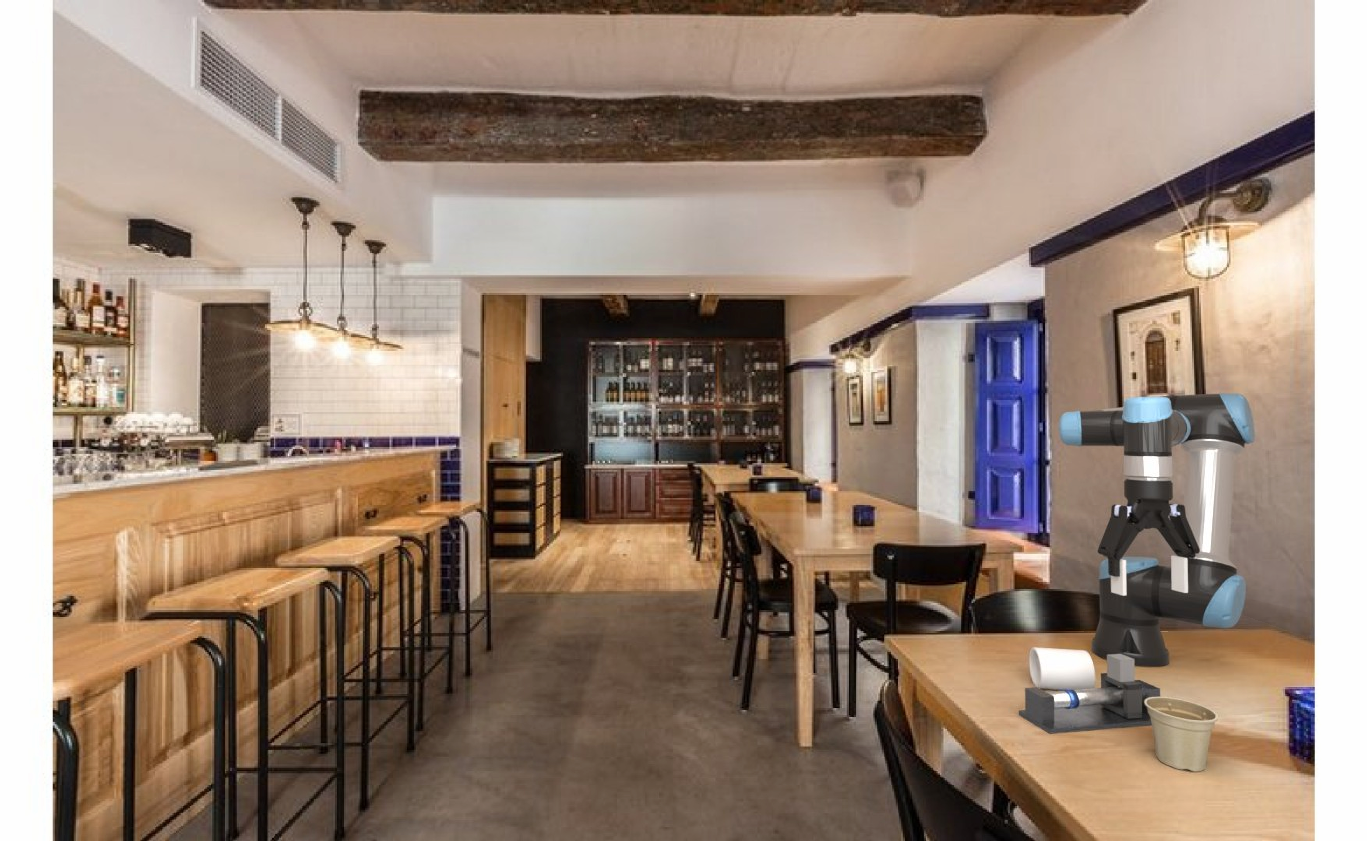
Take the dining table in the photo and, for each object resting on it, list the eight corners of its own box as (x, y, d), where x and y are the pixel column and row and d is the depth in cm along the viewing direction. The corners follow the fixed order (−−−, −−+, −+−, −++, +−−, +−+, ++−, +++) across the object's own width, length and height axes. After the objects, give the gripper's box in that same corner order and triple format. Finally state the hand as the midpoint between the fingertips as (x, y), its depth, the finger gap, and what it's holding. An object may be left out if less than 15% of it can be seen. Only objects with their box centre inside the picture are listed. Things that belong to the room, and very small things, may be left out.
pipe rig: (1131, 705, 127) (1131, 676, 127) (1169, 723, 119) (1168, 691, 119) (1018, 714, 122) (1018, 683, 122) (1049, 733, 114) (1049, 700, 115)
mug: (1095, 698, 130) (1095, 657, 131) (1041, 694, 132) (1040, 654, 133) (1072, 676, 142) (1072, 639, 142) (1023, 673, 144) (1022, 636, 144)
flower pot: (1220, 761, 105) (1220, 707, 105) (1217, 784, 98) (1216, 726, 98) (1149, 743, 111) (1148, 691, 111) (1140, 763, 104) (1140, 708, 104)
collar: (1114, 704, 125) (1114, 651, 125) (1142, 717, 119) (1141, 661, 119) (1101, 705, 124) (1100, 651, 125) (1127, 718, 118) (1127, 662, 119)
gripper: (1185, 476, 130) (1187, 585, 129) (1075, 477, 126) (1076, 590, 125) (1222, 479, 122) (1224, 594, 122) (1106, 480, 118) (1108, 599, 118)
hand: (1149, 592), depth 124 cm, fingers open, 12 cm apart
